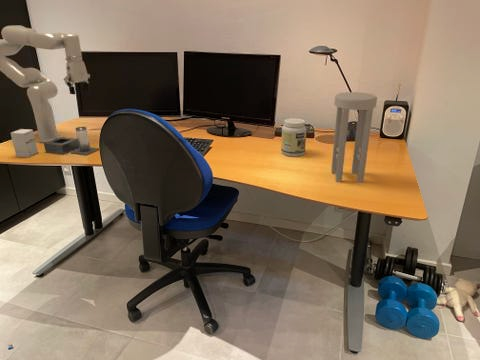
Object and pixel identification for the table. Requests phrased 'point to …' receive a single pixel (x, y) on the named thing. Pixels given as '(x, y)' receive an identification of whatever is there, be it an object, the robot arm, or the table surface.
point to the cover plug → (83, 139)
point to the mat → (85, 152)
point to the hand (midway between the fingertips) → (79, 92)
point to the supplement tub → (293, 137)
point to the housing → (61, 145)
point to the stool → (365, 107)
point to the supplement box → (24, 143)
